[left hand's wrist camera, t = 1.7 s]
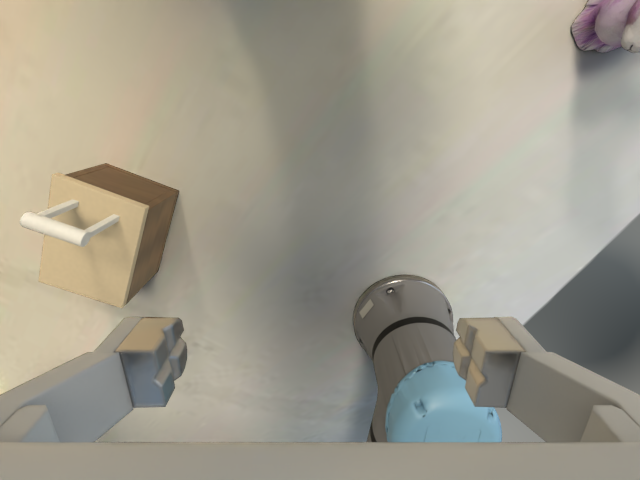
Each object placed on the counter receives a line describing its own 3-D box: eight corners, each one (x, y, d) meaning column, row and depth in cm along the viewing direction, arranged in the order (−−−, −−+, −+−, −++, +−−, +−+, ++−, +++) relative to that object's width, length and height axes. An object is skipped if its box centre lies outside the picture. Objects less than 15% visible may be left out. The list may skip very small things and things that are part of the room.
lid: (58, 172, 38) (-6, 189, 31) (149, 205, 40) (109, 229, 32) (44, 277, 43) (-14, 314, 36) (126, 304, 45) (86, 345, 37)
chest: (105, 163, 47) (57, 176, 39) (179, 190, 49) (148, 209, 40) (90, 248, 52) (44, 277, 43) (157, 271, 53) (126, 304, 45)
